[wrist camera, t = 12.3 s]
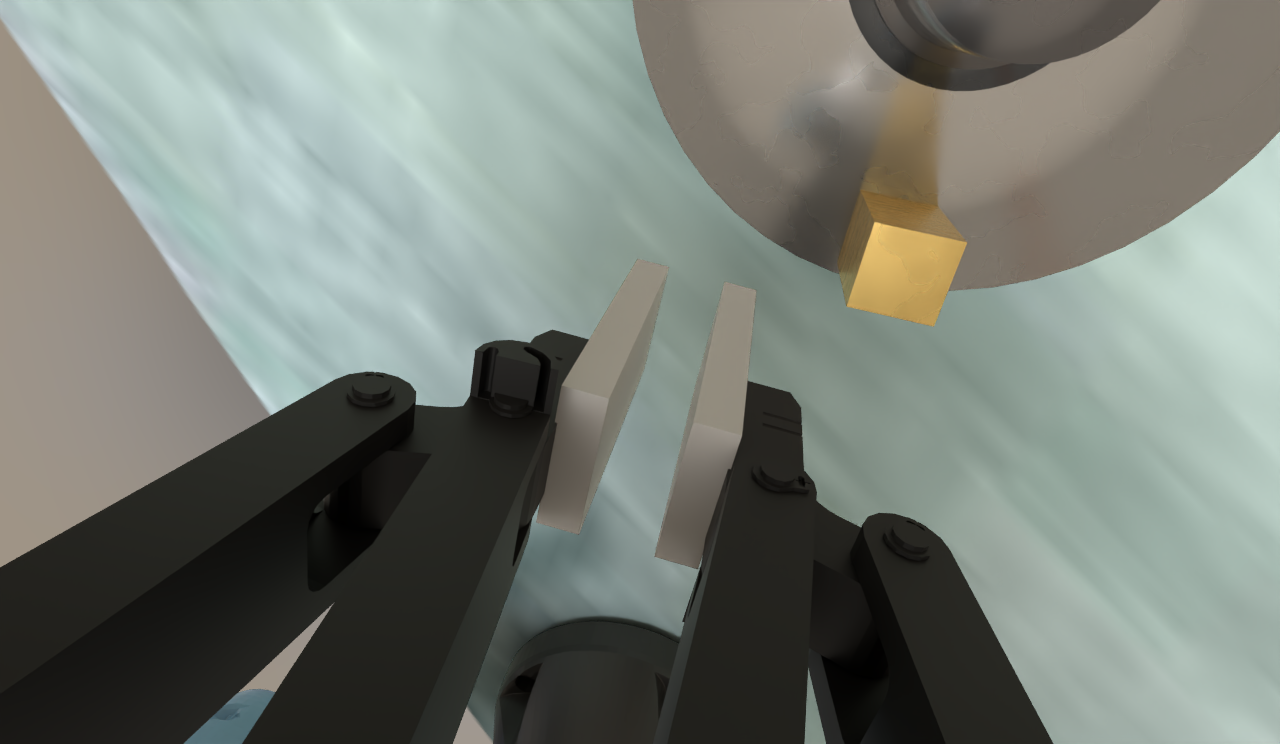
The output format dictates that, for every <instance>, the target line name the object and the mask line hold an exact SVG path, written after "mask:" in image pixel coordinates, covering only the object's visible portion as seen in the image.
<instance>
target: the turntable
mask: <svg viewBox="0 0 1280 744" xmlns="http://www.w3.org/2000/svg"><path fill="white" fill-rule="evenodd" d="M633 6H634V14H635V21H636V28H637V33H638V37H639V41H640V45H641V49H642V53H643V56H644V60H645V64H646V68H647V72H648V75H649V78H650V80H651V83H652V85H653V88H654V91H655V93H656V96H657V98H658V101H659V103H660V106H661V108H662V111H663V113H664V116H665V117H666V119H667V121H668V123H669V125H670V127H671V128H672V130H673V132H674V134H675V136H676V138H677V139H678V141H679V143H680V145H681V147H682V149H683V150H684V152H685V153H686V155H687V156H688V157H689V159H690V160H691V162H692V163H693V164H694V166H695V167H696V168H697V170H698V171H699V173H700V174H701V175H702V177H703V178H704V179H705V181H706V182H707V184H708V185H709V186H710V187H711V188H712V189H713V190H714V191H715V192H716V193H717V194H718V195H719V196H720V197H721V198H722V199H723V200H724V201H725V203H726V204H727V205H728V206H729V207H730V208H731V209H732V210H733V211H734V212H735V213H736V214H738V215H739V216H740V217H741V218H743V219H744V220H745V221H746V222H747V223H749V224H750V225H751V226H752V227H754V228H755V229H756V230H757V231H759V232H760V233H761V234H762V235H764V236H765V237H767V238H768V239H770V240H772V241H773V242H775V243H776V244H778V245H780V246H781V247H783V248H785V249H786V250H788V251H790V252H791V253H793V254H795V255H796V256H798V257H800V258H803V259H805V260H807V261H809V262H812V263H814V264H816V265H819V266H821V267H823V268H825V269H828V270H830V271H832V272H835V273H839V274H840V279H841V283H842V288H843V292H844V297H845V302H846V306H847V307H851V308H855V309H860V310H864V311H868V312H873V313H877V314H882V315H886V316H890V317H895V318H899V319H903V320H908V321H912V322H916V323H921V324H925V325H929V326H934V325H935V322H936V320H937V317H938V315H939V312H940V310H941V307H942V305H943V302H944V300H945V297H946V295H947V292H948V291H952V290H965V289H978V288H991V287H997V286H1002V285H1007V284H1013V283H1018V282H1023V281H1028V280H1034V279H1038V278H1041V277H1044V276H1048V275H1051V274H1054V273H1057V272H1061V271H1064V270H1067V269H1070V268H1074V267H1077V266H1080V265H1083V264H1085V263H1087V262H1090V261H1092V260H1094V259H1097V258H1099V257H1101V256H1104V255H1106V254H1108V253H1111V252H1113V251H1116V250H1118V249H1120V248H1123V247H1125V246H1127V245H1129V244H1130V243H1132V242H1134V241H1136V240H1138V239H1139V238H1141V237H1143V236H1145V235H1147V234H1149V233H1150V232H1152V231H1154V230H1156V229H1158V228H1159V227H1161V226H1163V225H1165V224H1167V223H1169V222H1170V221H1172V220H1173V219H1174V218H1176V217H1177V216H1179V215H1180V214H1182V213H1183V212H1185V211H1186V210H1188V209H1189V208H1190V207H1192V206H1193V205H1195V204H1196V203H1198V202H1199V201H1201V200H1202V199H1204V198H1205V197H1207V196H1208V195H1209V194H1211V193H1212V192H1214V191H1215V190H1216V189H1217V188H1218V187H1220V186H1221V185H1222V184H1223V183H1224V182H1225V181H1227V180H1228V179H1229V178H1230V177H1231V176H1233V175H1234V174H1235V173H1236V172H1237V171H1239V170H1240V169H1241V168H1242V167H1243V166H1244V165H1246V164H1247V163H1248V162H1249V161H1250V160H1252V159H1253V158H1254V157H1255V156H1256V155H1257V154H1258V153H1259V152H1260V151H1261V150H1262V149H1263V148H1264V147H1265V146H1266V145H1267V144H1268V143H1269V142H1270V141H1271V140H1272V139H1273V138H1274V137H1275V136H1276V135H1277V134H1278V133H1279V132H1280V0H1160V1H1159V2H1158V3H1157V4H1156V5H1155V6H1154V7H1153V8H1152V9H1151V10H1150V11H1149V12H1148V13H1147V14H1146V15H1145V16H1144V17H1143V18H1142V19H1140V20H1139V21H1138V22H1137V23H1136V24H1134V25H1133V26H1132V27H1131V28H1129V29H1128V30H1126V31H1125V32H1123V33H1122V34H1120V35H1119V36H1117V37H1116V38H1114V39H1113V40H1111V41H1109V42H1108V43H1106V44H1104V45H1102V46H1100V47H1098V48H1096V49H1094V50H1092V51H1089V52H1087V53H1084V54H1081V55H1079V56H1076V57H1073V58H1069V59H1065V60H1062V61H1058V62H1051V63H1044V64H1015V63H1010V64H1006V65H1002V66H999V67H994V68H986V69H958V68H950V67H947V66H943V65H939V64H936V63H933V62H930V61H928V60H926V59H923V58H921V57H919V56H917V55H916V54H914V53H913V52H911V51H910V50H908V49H907V48H906V47H904V46H903V45H902V44H901V43H900V42H899V41H898V40H897V39H896V38H895V37H894V36H893V35H892V33H891V32H890V31H889V30H888V28H887V27H886V25H885V24H884V22H883V20H882V19H881V17H880V15H879V13H878V10H877V8H876V6H875V3H874V0H633Z"/></svg>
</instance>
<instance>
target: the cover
mask: <svg viewBox="0 0 1280 744" xmlns="http://www.w3.org/2000/svg"><path fill="white" fill-rule="evenodd" d="M1159 1H1160V0H874V3H875V6H876V8H877V10H878V13H879V15H880V17H881V19H882V20H883V22H884V24H885V25H886V27H887V28H888V30H889V31H890V32H891V33H892V35H893V36H894V37H895V38H896V39H897V40H898V41H899V42H900V43H901V44H902V45H903V46H904V47H906V48H907V49H908V50H910V51H911V52H913V53H914V54H916V55H917V56H919V57H921V58H923V59H926V60H928V61H930V62H933V63H936V64H939V65H943V66H947V67H950V68H958V69H986V68H994V67H999V66H1002V65H1006V64H1010V63H1015V64H1044V63H1051V62H1058V61H1062V60H1065V59H1069V58H1073V57H1076V56H1079V55H1081V54H1084V53H1087V52H1089V51H1092V50H1094V49H1096V48H1098V47H1100V46H1102V45H1104V44H1106V43H1108V42H1109V41H1111V40H1113V39H1114V38H1116V37H1117V36H1119V35H1120V34H1122V33H1123V32H1125V31H1126V30H1128V29H1129V28H1131V27H1132V26H1133V25H1134V24H1136V23H1137V22H1138V21H1139V20H1140V19H1142V18H1143V17H1144V16H1145V15H1146V14H1147V13H1148V12H1149V11H1150V10H1151V9H1152V8H1153V7H1154V6H1155V5H1156V4H1157V3H1158V2H1159Z"/></svg>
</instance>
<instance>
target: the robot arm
mask: <svg viewBox="0 0 1280 744" xmlns="http://www.w3.org/2000/svg"><path fill="white" fill-rule="evenodd" d="M668 270H669V267H667V266H663V265H659V264H655V263H652V262H648V261H644V260H640V259H637V261H636V262H635V264H634V266H633V267H632V269H631V271H630V272H629V274H628V276H627V277H626V279H625V281H624V282H623V284H622V286H621V287H620V289H619V291H618V292H617V294H616V296H615V297H614V299H613V301H612V302H611V304H610V306H609V307H608V309H607V311H606V312H605V314H604V316H603V317H602V319H601V321H600V322H599V324H598V326H597V327H596V329H595V331H594V332H593V334H592V336H591V337H590V339H589V340H588V339H585V338H581V337H577V336H574V335H570V334H566V333H563V332H559V331H555V330H550V331H548V332H546V333H543V334H541V335H538V336H536V337H534V339H533V340H532V341H531V343H528V342H521V341H514V340H501V341H493V342H490V343H486V344H483V345H482V346H480V347H479V348H478V349H476V350H475V358H474V367H473V375H472V384H471V392H470V397H469V398H468V400H467V401H466V403H465V404H464V406H460V407H435V406H423V405H415V403H416V391H415V390H414V389H413V387H412V386H411V384H410V383H408V382H406V381H404V380H402V379H401V378H399V377H396V376H392V375H388V374H385V373H380V372H376V373H374V372H363V373H355V374H349V375H346V376H343V377H341V378H338V379H335V380H333V381H332V382H330V383H328V384H326V385H325V386H323V387H321V388H319V389H317V390H316V391H314V392H312V393H310V394H309V395H307V396H305V397H303V398H301V399H300V400H298V401H296V402H294V403H292V404H291V405H289V406H287V407H285V408H284V409H282V410H280V411H278V412H276V413H275V414H273V415H271V416H269V417H268V418H266V419H264V420H262V421H260V422H259V423H257V424H255V425H253V426H251V427H250V428H248V429H246V430H244V431H243V432H241V433H239V434H237V435H235V436H234V437H232V438H230V439H228V440H227V441H225V442H223V443H221V444H219V445H218V446H216V447H214V448H212V449H211V450H209V451H207V452H205V453H204V454H202V455H200V456H198V457H196V458H195V459H193V460H191V461H189V462H187V463H186V464H184V465H182V466H180V467H178V468H177V469H175V470H173V471H171V472H169V473H168V474H166V475H164V476H162V477H161V478H159V479H157V480H155V481H154V482H152V483H150V484H148V485H146V486H145V487H143V488H141V489H139V490H137V491H136V492H134V493H132V494H130V495H129V496H127V497H125V498H123V499H121V500H120V501H118V502H116V503H114V504H113V505H111V506H109V507H107V508H106V509H104V510H102V511H100V512H98V513H96V514H95V515H93V516H91V517H89V518H88V519H86V520H84V521H82V522H80V523H79V524H77V525H75V526H73V527H71V528H70V529H68V530H66V531H64V532H63V533H61V534H59V535H57V536H55V537H54V538H52V539H50V540H48V541H47V542H45V543H43V544H41V545H39V546H38V547H36V548H34V549H32V550H30V551H29V552H27V553H25V554H23V555H22V556H20V557H18V558H16V559H15V560H13V561H11V562H9V563H7V564H6V565H4V566H2V567H0V744H453V741H454V739H455V736H456V733H457V730H458V728H459V725H460V722H461V720H462V717H463V714H464V712H465V709H466V706H467V704H468V701H469V698H470V696H471V693H472V690H473V688H474V685H475V682H476V679H477V677H478V674H479V671H480V669H481V666H482V663H483V661H484V658H485V655H486V653H487V650H488V647H489V644H490V642H491V639H492V636H493V634H494V631H495V628H496V626H497V623H498V620H499V618H500V615H501V612H502V609H503V607H504V604H505V601H506V599H507V596H508V593H509V591H510V588H511V585H512V583H513V580H514V577H515V574H516V572H517V569H518V566H519V564H520V561H521V558H522V556H523V553H524V550H525V548H526V545H527V542H528V538H529V533H530V527H531V522H532V517H533V515H534V513H535V511H536V509H537V507H538V505H539V503H540V505H539V510H538V516H537V521H536V522H537V523H540V524H544V525H547V526H551V527H554V528H557V529H561V530H564V531H568V532H571V533H575V534H578V535H579V533H580V531H581V528H582V526H583V523H584V521H585V518H586V515H587V513H588V510H589V508H590V505H591V503H592V500H593V498H594V495H595V493H596V490H597V488H598V485H599V482H600V480H601V477H602V475H603V472H604V470H605V467H606V465H607V462H608V460H609V457H610V455H611V452H612V450H613V447H614V444H615V442H616V439H617V437H618V434H619V432H620V429H621V427H622V424H623V422H624V419H625V417H626V414H627V412H628V409H629V406H630V404H631V401H632V399H633V396H634V394H635V391H636V389H637V386H638V384H639V381H640V379H641V376H642V373H643V371H644V368H645V364H646V360H647V356H648V352H649V348H650V344H651V339H652V335H653V331H654V327H655V323H656V319H657V315H658V311H659V307H660V302H661V298H662V294H663V290H664V286H665V282H666V278H667V274H668ZM755 300H756V290H754V289H750V288H746V287H742V286H739V285H735V284H731V283H727V282H724V285H723V289H722V292H721V296H720V300H719V303H718V307H717V310H716V314H715V317H714V321H713V324H712V328H711V331H710V335H709V338H708V342H707V345H706V349H705V352H704V356H703V359H702V363H701V366H700V370H699V373H698V377H697V381H696V384H695V388H694V393H693V397H692V401H691V405H690V409H689V414H688V418H687V422H686V426H685V430H684V434H683V439H682V443H681V447H680V451H679V455H678V460H677V464H676V468H675V472H674V476H673V480H672V485H671V489H670V493H669V497H668V501H667V506H666V510H665V514H664V518H663V522H662V527H661V531H660V535H659V539H658V543H657V547H656V552H655V556H654V557H658V558H661V559H664V560H668V561H671V562H675V563H678V564H682V565H685V566H689V567H692V568H695V569H698V567H699V564H700V561H701V558H702V564H701V567H700V570H699V573H698V576H697V579H696V582H695V585H694V588H693V591H692V594H691V597H690V600H689V603H688V606H687V609H686V612H685V615H684V618H683V621H682V622H685V623H684V626H683V630H682V634H681V638H680V642H679V644H678V643H676V642H674V641H672V640H670V639H668V638H666V637H664V636H662V635H659V634H657V633H654V632H652V631H648V630H645V629H642V628H639V627H635V626H630V625H626V624H620V623H612V622H579V623H572V624H567V625H562V626H559V627H555V628H553V629H550V630H547V631H545V632H543V633H541V634H539V635H538V636H536V637H534V638H533V639H531V640H530V641H529V642H527V643H526V644H525V645H524V646H523V647H522V648H521V649H520V650H519V651H518V653H517V654H516V655H515V657H514V658H513V660H512V662H511V664H510V666H509V669H508V671H507V673H506V676H505V678H504V681H503V683H502V685H501V688H500V690H499V693H498V697H497V702H496V707H495V720H494V739H493V744H804V739H805V718H806V698H807V678H808V668H809V672H810V676H811V680H812V685H813V689H814V693H815V697H816V702H817V706H818V710H819V714H820V718H821V723H822V727H823V731H824V735H825V740H826V744H1053V742H1052V740H1051V738H1050V737H1049V735H1048V733H1047V731H1046V729H1045V727H1044V725H1043V723H1042V722H1041V720H1040V718H1039V716H1038V714H1037V712H1036V710H1035V708H1034V707H1033V705H1032V703H1031V701H1030V699H1029V697H1028V695H1027V693H1026V692H1025V690H1024V688H1023V686H1022V684H1021V682H1020V680H1019V678H1018V677H1017V675H1016V673H1015V671H1014V669H1013V667H1012V665H1011V664H1010V662H1009V660H1008V658H1007V656H1006V654H1005V652H1004V650H1003V649H1002V647H1001V645H1000V643H999V641H998V639H997V637H996V635H995V634H994V632H993V630H992V628H991V626H990V624H989V622H988V620H987V619H986V617H985V615H984V613H983V611H982V609H981V607H980V605H979V604H978V602H977V600H976V598H975V596H974V594H973V592H972V591H971V589H970V587H969V585H968V583H967V581H966V579H965V577H964V576H963V574H962V572H961V570H960V568H959V566H958V564H957V562H956V561H955V559H954V557H953V555H952V553H951V551H950V550H949V548H948V547H947V546H946V544H945V543H944V542H943V541H942V539H941V538H940V537H939V536H937V535H936V534H935V533H934V532H932V531H931V530H930V529H928V528H927V527H926V526H924V525H923V524H921V523H919V522H916V521H915V520H913V519H910V518H907V517H903V516H900V515H896V514H890V513H878V514H875V515H872V516H869V517H868V518H867V519H866V520H865V522H864V523H863V525H862V527H859V526H857V525H855V524H853V523H851V522H849V521H847V520H845V519H843V518H841V517H839V516H837V515H835V514H834V513H832V512H830V511H828V510H827V509H826V508H825V507H823V506H822V505H821V504H819V503H818V502H817V501H816V496H817V492H816V488H815V484H814V482H813V480H812V479H811V478H810V477H809V476H808V474H807V473H806V472H805V471H804V463H803V441H802V437H801V436H802V425H801V423H802V418H801V407H800V406H799V404H798V403H797V401H796V400H795V399H794V397H793V396H792V394H791V393H790V392H786V391H783V390H779V389H775V388H772V387H768V386H764V385H760V384H757V383H753V382H749V381H748V371H749V361H750V350H751V340H752V330H753V320H754V310H755ZM702 555H703V557H702ZM333 603H334V604H333ZM332 604H333V605H332ZM331 605H332V607H331V609H330V610H329V612H328V613H327V615H326V616H325V618H324V619H323V621H322V622H321V624H320V625H319V627H318V628H317V630H316V631H315V633H314V634H313V636H312V637H311V639H310V641H309V642H308V644H307V645H306V647H305V648H304V650H303V651H302V653H301V654H300V656H299V657H298V659H297V661H296V662H295V663H294V665H293V666H292V668H291V670H290V671H289V673H288V674H287V676H286V677H285V679H284V680H283V682H282V684H281V685H280V686H279V688H278V689H277V691H276V692H272V691H269V690H263V689H252V690H246V691H242V692H239V691H240V690H241V689H242V688H243V687H244V686H245V685H247V684H248V683H249V682H250V681H251V680H252V679H253V678H254V677H255V676H256V675H257V674H258V673H259V672H260V671H261V670H262V669H264V668H265V666H267V665H268V664H269V663H270V662H271V661H272V660H273V659H274V658H275V657H276V656H277V655H279V653H281V652H282V651H283V650H284V649H285V648H286V647H287V646H288V645H289V644H290V643H291V642H292V641H293V640H294V639H295V638H297V637H298V636H299V635H300V634H301V633H302V632H303V631H304V630H305V629H306V628H307V627H308V626H309V625H310V624H312V623H313V622H314V621H315V620H316V619H317V618H318V617H319V616H320V615H321V614H322V613H323V612H324V611H325V610H326V609H327V608H329V606H331ZM238 692H239V693H238Z"/></svg>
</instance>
